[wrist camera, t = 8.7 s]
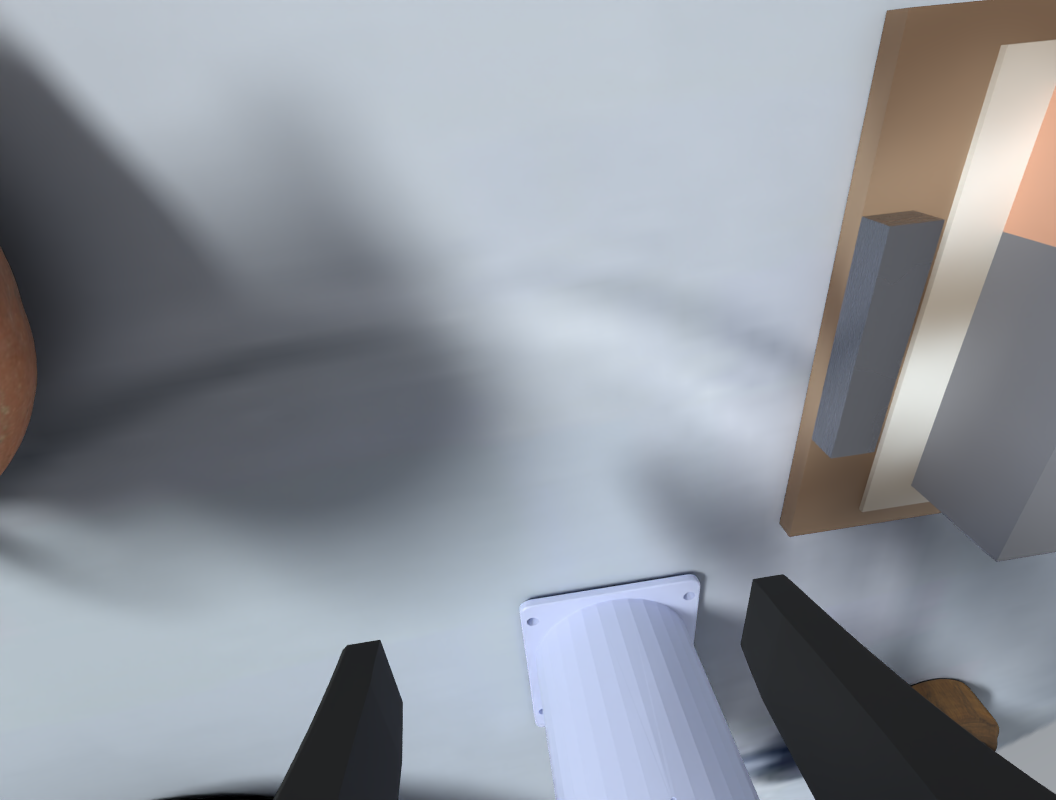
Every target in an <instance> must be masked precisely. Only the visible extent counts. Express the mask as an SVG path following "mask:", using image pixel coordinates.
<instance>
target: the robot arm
mask: <svg viewBox="0 0 1056 800" xmlns="http://www.w3.org/2000/svg"><path fill="white" fill-rule="evenodd" d="M699 595H700V582H699V580H698V578H697V577H696V576H695V575H692V574H687V575H681V576H674V577H668V578H662V579H656V580H650V581H643V582H637V583H631V584H625V585H618V586H612V587H606V588H600V589H594V590H587V591H581V592H575V593H569V594H563V595H556V596H550V597H544V598H538V599H531V600H527V601H525V602H523V603H522V604H521V605H520V608H519V611H520V618H521V625H522V632H523V639H524V646H525V653H526V660H527V667H528V674H529V682H530V689H531V696H532V703H533V710H534V717H535V723H536V725H538V726H539V727H545V729H546V736H547V743H548V749H549V756H550V763H551V770H552V776H553V783H554V790H555V797H556V800H759V797H758V795H757V792H756V790H755V788H754V785H753V783H752V781H751V778H750V776H749V774H748V771H747V769H746V767H745V764H744V762H743V760H742V757H741V755H740V753H739V750H738V748H737V746H736V743H735V741H734V739H733V736H732V734H731V732H730V729H729V727H728V725H727V722H726V720H725V718H724V715H723V713H722V711H721V708H720V706H719V704H718V701H717V699H716V697H715V694H714V692H713V690H712V687H711V685H710V683H709V680H708V678H707V676H706V673H705V671H704V669H703V666H702V664H701V662H700V659H699V657H698V655H697V652H696V650H695V647H694V637H695V629H696V620H697V612H698V603H699ZM741 647H742V650H743V652H744V655H745V657H746V660H747V663H748V665H749V668H750V670H751V673H752V675H753V678H754V680H755V683H756V685H757V687H758V690H759V692H760V695H761V697H762V699H763V701H764V703H765V705H766V707H767V709H768V711H769V713H770V715H771V717H772V719H773V721H774V723H775V725H776V726H777V728H778V730H779V732H780V734H781V736H782V738H783V740H784V742H785V744H786V745H787V747H788V749H789V751H790V753H791V755H792V757H793V759H794V761H795V762H796V764H797V766H798V768H799V770H800V772H801V774H802V776H803V777H804V779H805V781H806V783H807V785H808V787H809V789H810V791H811V792H812V794H813V796H814V798H815V800H1056V794H1054V793H1053V792H1051V791H1050V790H1048V789H1047V788H1046V787H1044V786H1043V785H1041V784H1040V783H1038V782H1037V781H1035V780H1034V779H1032V778H1031V777H1030V776H1028V775H1027V774H1025V773H1024V772H1023V771H1021V770H1020V769H1018V768H1017V767H1016V766H1014V765H1013V764H1011V763H1010V762H1009V761H1007V760H1006V759H1004V758H1003V757H1002V756H1000V755H999V754H997V753H996V752H995V751H993V750H992V749H991V748H989V747H988V746H987V745H985V744H984V743H983V742H981V741H980V740H979V739H977V738H976V737H975V736H973V735H972V734H971V733H969V732H968V731H967V730H965V729H964V728H963V727H962V726H960V725H959V724H958V723H956V722H955V721H954V720H953V719H951V718H950V717H949V716H947V715H946V714H945V713H944V712H942V711H941V710H940V709H939V708H937V707H936V706H935V705H934V704H932V703H931V702H930V701H928V700H927V699H926V698H925V697H924V696H922V695H921V694H920V693H919V692H917V691H916V690H915V689H914V688H912V687H911V686H910V685H909V684H908V683H906V682H905V681H904V680H903V679H902V678H900V677H899V676H898V675H897V674H896V673H895V672H893V671H892V670H891V669H890V668H889V667H887V666H886V665H885V664H884V663H883V662H882V661H880V660H879V659H878V658H877V657H876V656H874V655H873V654H872V653H871V652H870V651H869V650H867V649H866V648H865V647H864V646H863V645H862V644H861V643H859V642H858V641H857V640H856V639H855V638H854V637H853V636H851V635H850V634H849V633H848V632H847V631H846V630H845V629H844V628H842V627H841V626H840V625H839V624H838V623H837V622H836V621H835V620H834V619H832V618H831V617H830V616H829V615H828V614H827V613H826V612H825V611H824V610H822V609H821V608H820V607H819V606H818V605H817V604H816V603H815V602H814V601H813V600H811V599H810V598H809V597H808V596H807V595H806V594H805V593H804V592H803V591H802V590H801V589H799V588H798V587H797V586H796V585H795V584H794V583H793V582H792V581H791V580H789V579H788V578H787V577H786V576H785V575H783V574H782V575H776V576H770V577H764V578H757V579H753V582H752V587H751V592H750V598H749V603H748V608H747V613H746V619H745V624H744V629H743V635H742V640H741ZM402 731H403V702H402V699H401V696H400V693H399V691H398V688H397V685H396V682H395V679H394V677H393V674H392V671H391V668H390V666H389V663H388V660H387V657H386V654H385V652H384V649H383V646H382V643H381V641H380V640H377V641H370V642H364V643H358V644H352V645H347V646H346V647H345V648H344V649H343V651H342V653H341V656H340V658H339V661H338V663H337V666H336V668H335V671H334V673H333V675H332V678H331V680H330V682H329V685H328V687H327V689H326V692H325V694H324V696H323V698H322V701H321V703H320V705H319V707H318V710H317V712H316V714H315V716H314V718H313V720H312V723H311V725H310V727H309V729H308V731H307V733H306V735H305V737H304V739H303V741H302V743H301V745H300V748H299V750H298V752H297V754H296V756H295V758H294V760H293V762H292V764H291V766H290V768H289V770H288V772H287V774H286V776H285V778H284V780H283V782H282V784H281V786H280V788H279V790H278V792H277V794H276V795H275V797H274V799H273V800H398V795H399V786H400V776H401V767H402Z"/></svg>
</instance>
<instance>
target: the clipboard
mask: <svg viewBox="0 0 1056 800" xmlns="http://www.w3.org/2000/svg"><path fill="white" fill-rule="evenodd" d="M1055 86H1056V0H984V1H973V2H963V3H953V4H942V5H932V6H922V7H912V8H904V9H896V10H889V11H887V13H886V18H885V23H884V27H883V32H882V37H881V42H880V46H879V51H878V56H877V61H876V66H875V70H874V75H873V80H872V85H871V89H870V94H869V99H868V104H867V108H866V113H865V118H864V123H863V128H862V132H861V137H860V142H859V147H858V151H857V156H856V161H855V166H854V170H853V175H852V180H851V185H850V189H849V194H848V199H847V204H846V209H845V213H844V218H843V223H842V228H841V232H840V237H839V242H838V247H837V251H836V256H835V261H834V266H833V271H832V275H831V280H830V285H829V290H828V294H827V299H826V304H825V309H824V313H823V318H822V323H821V328H820V333H819V337H818V342H817V347H816V352H815V356H814V361H813V366H812V371H811V375H810V380H809V385H808V390H807V394H806V399H805V404H804V409H803V414H802V418H801V423H800V428H799V433H798V437H797V442H796V447H795V452H794V456H793V461H792V466H791V471H790V476H789V480H788V485H787V490H786V495H785V499H784V504H783V509H782V514H781V518H780V525H781V526H782V528H783V529H784V530H785V532H786V533H787V534H788V536H789V537H792V536H798V535H804V534H811V533H817V532H823V531H830V530H836V529H842V528H848V527H855V526H861V525H867V524H874V523H880V522H886V521H893V520H899V519H905V518H912V517H918V516H924V515H931V514H937V513H941V512H940V511H939V510H938V509H937V508H936V507H935V506H934V505H933V504H931V503H930V502H929V501H928V500H927V499H926V498H925V497H924V496H922V495H921V494H920V493H919V492H918V491H917V490H916V489H915V488H914V487H912V486H911V484H912V481H913V479H914V476H915V473H916V470H917V468H918V465H919V462H920V459H921V456H922V454H923V451H924V448H925V445H926V443H927V440H928V437H929V434H930V432H931V429H932V426H933V423H934V421H935V418H936V415H937V412H938V409H939V407H940V404H941V401H942V398H943V396H944V393H945V390H946V387H947V385H948V382H949V379H950V376H951V373H952V371H953V368H954V365H955V362H956V360H957V357H958V354H959V351H960V349H961V346H962V343H963V340H964V338H965V335H966V332H967V329H968V326H969V324H970V321H971V318H972V315H973V313H974V310H975V307H976V304H977V302H978V299H979V296H980V293H981V290H982V288H983V285H984V282H985V279H986V277H987V274H988V271H989V268H990V266H991V263H992V260H993V257H994V255H995V252H996V249H997V246H998V243H999V241H1000V238H1001V235H1002V232H1003V230H1004V227H1005V224H1006V221H1007V219H1008V216H1009V213H1010V210H1011V207H1012V205H1013V202H1014V199H1015V196H1016V194H1017V191H1018V188H1019V185H1020V183H1021V180H1022V177H1023V174H1024V172H1025V169H1026V166H1027V163H1028V160H1029V158H1030V155H1031V152H1032V149H1033V147H1034V144H1035V141H1036V138H1037V136H1038V133H1039V130H1040V127H1041V124H1042V122H1043V119H1044V116H1045V113H1046V111H1047V108H1048V105H1049V102H1050V100H1051V97H1052V94H1053V91H1054V89H1055Z"/></svg>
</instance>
